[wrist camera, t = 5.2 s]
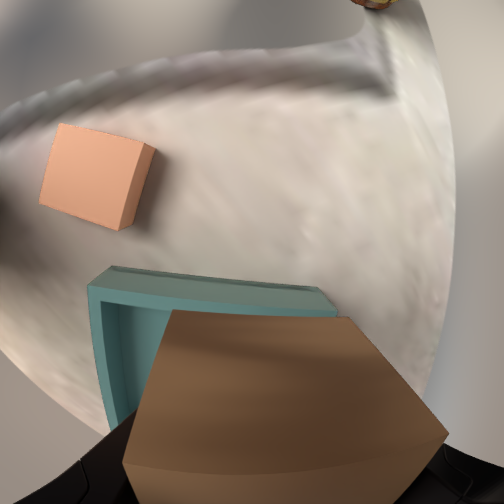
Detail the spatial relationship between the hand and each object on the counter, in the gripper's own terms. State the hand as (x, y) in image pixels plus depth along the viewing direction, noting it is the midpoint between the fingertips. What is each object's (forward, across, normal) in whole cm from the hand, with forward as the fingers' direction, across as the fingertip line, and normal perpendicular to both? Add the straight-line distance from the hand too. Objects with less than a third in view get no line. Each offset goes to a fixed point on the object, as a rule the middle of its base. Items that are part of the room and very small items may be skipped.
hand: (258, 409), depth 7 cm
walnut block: (+1, 0, 0) cm, 1 cm away
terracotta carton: (+12, +9, -6) cm, 17 cm away
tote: (+12, +2, +7) cm, 14 cm away
